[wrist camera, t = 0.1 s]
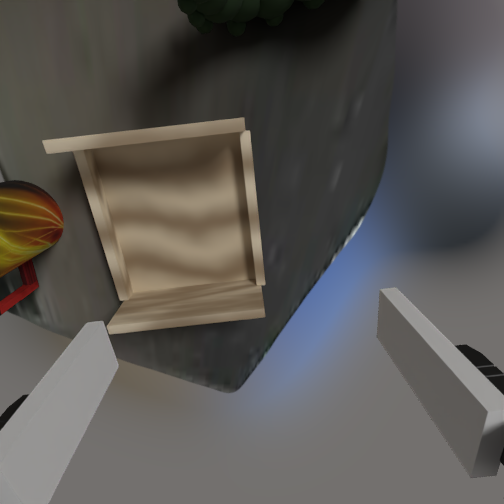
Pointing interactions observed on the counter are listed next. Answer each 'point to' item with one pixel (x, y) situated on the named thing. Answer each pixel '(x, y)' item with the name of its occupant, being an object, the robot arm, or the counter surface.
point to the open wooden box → (175, 221)
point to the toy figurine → (237, 12)
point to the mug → (25, 233)
